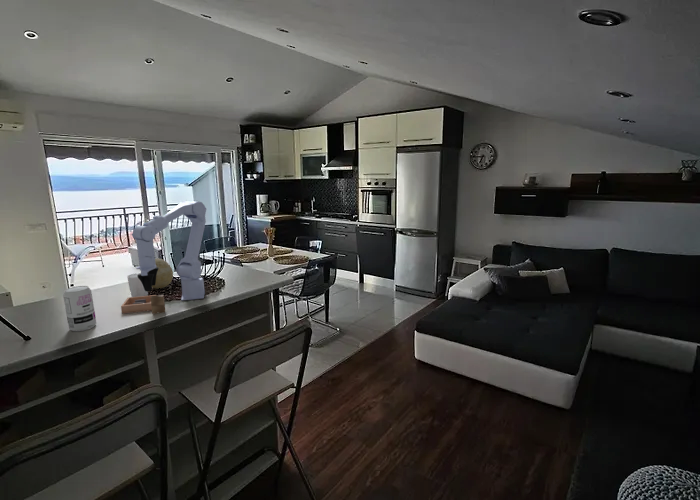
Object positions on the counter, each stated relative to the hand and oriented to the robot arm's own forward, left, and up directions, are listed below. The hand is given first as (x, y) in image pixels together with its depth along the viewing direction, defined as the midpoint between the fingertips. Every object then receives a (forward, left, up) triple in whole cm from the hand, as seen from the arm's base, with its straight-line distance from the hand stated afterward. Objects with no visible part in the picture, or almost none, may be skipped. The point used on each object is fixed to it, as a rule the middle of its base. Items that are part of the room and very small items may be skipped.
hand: (150, 288), depth 146 cm
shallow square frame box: (+6, -6, -10) cm, 13 cm away
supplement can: (+22, +10, -10) cm, 26 cm away
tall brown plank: (-2, +2, -10) cm, 11 cm away
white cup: (+10, -23, -10) cm, 27 cm away
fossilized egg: (+3, -33, -10) cm, 35 cm away
